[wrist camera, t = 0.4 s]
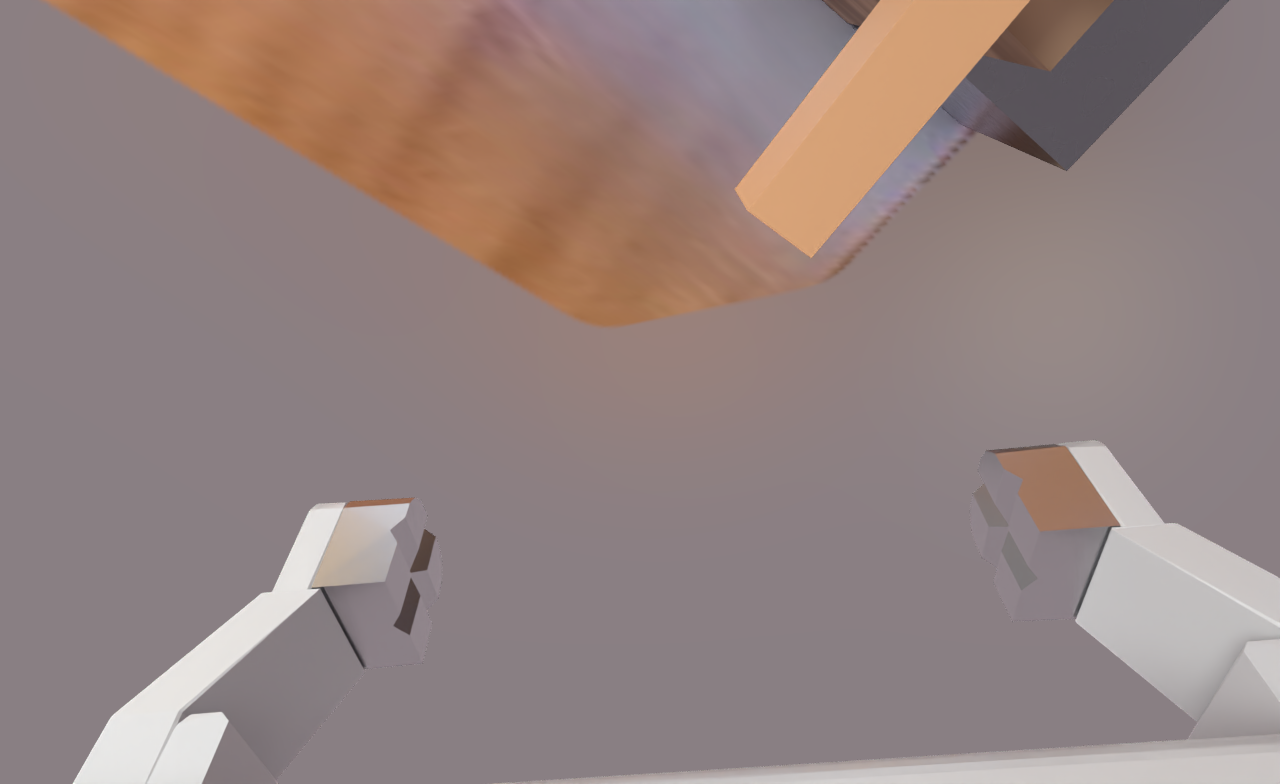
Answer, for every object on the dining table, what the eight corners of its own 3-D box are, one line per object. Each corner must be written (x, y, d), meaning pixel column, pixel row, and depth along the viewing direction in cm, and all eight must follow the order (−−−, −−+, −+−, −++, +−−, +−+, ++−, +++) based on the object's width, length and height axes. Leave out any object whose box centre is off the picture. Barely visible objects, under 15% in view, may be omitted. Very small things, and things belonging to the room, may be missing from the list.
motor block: (960, 124, 54) (1066, 171, 42) (853, 28, 51) (934, 48, 39) (1098, -34, 50) (1260, -33, 38) (989, -150, 47) (1130, -191, 34)
